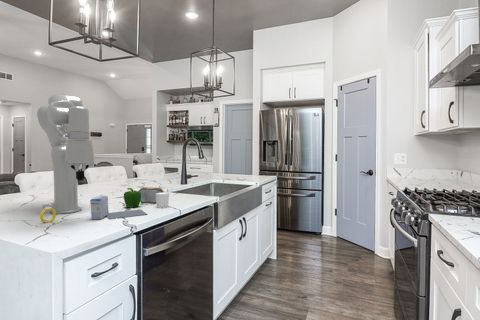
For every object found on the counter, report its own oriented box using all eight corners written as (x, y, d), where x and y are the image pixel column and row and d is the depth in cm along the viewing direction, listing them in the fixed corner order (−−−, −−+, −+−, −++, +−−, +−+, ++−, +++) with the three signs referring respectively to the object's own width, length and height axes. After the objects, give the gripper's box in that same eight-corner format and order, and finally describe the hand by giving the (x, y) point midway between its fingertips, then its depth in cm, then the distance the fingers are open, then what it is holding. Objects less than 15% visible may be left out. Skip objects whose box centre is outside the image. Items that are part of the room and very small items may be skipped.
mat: (108, 219, 122) (108, 218, 122) (104, 213, 133) (104, 213, 133) (147, 214, 131) (147, 214, 131) (140, 209, 141) (140, 209, 141)
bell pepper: (140, 204, 154) (140, 186, 154) (142, 207, 147) (142, 188, 146) (123, 206, 151) (123, 186, 150) (124, 209, 143) (124, 188, 143)
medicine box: (98, 214, 130) (97, 195, 129) (109, 214, 130) (107, 195, 130) (91, 219, 122) (89, 199, 121) (102, 219, 122) (100, 198, 122)
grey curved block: (165, 202, 161) (165, 187, 160) (163, 203, 157) (162, 188, 157) (139, 202, 162) (138, 187, 162) (136, 203, 159) (136, 187, 159)
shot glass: (171, 205, 151) (171, 192, 151) (164, 208, 145) (164, 194, 144) (160, 205, 153) (160, 191, 153) (152, 207, 147) (152, 193, 147)
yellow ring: (44, 224, 115) (42, 210, 115) (39, 224, 116) (37, 209, 115) (57, 220, 121) (56, 206, 120) (53, 219, 122) (51, 205, 121)
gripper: (58, 136, 113) (59, 182, 114) (100, 136, 121) (101, 180, 122) (57, 136, 120) (59, 181, 120) (97, 137, 128) (98, 179, 128)
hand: (80, 180), depth 121 cm, fingers closed
